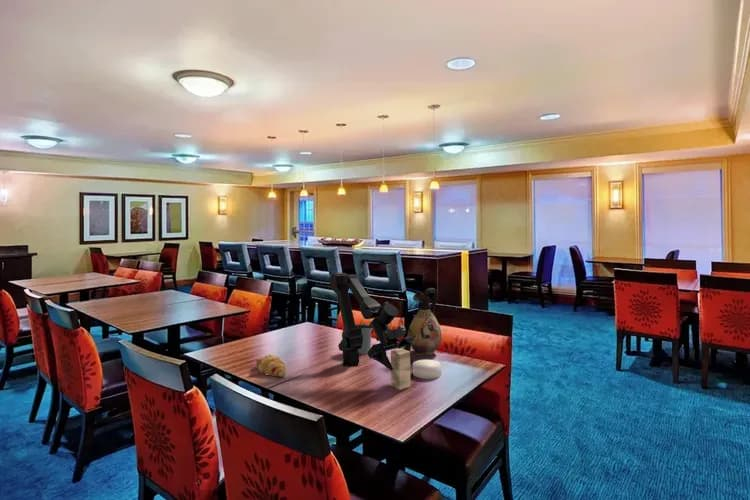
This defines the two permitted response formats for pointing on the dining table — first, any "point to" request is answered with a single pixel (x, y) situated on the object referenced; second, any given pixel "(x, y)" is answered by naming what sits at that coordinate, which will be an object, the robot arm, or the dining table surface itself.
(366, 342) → the grey cup
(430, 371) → the cream plinth
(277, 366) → the croissant
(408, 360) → the maple block
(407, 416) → the dining table surface
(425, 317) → the ceramic jug
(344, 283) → the robot arm
